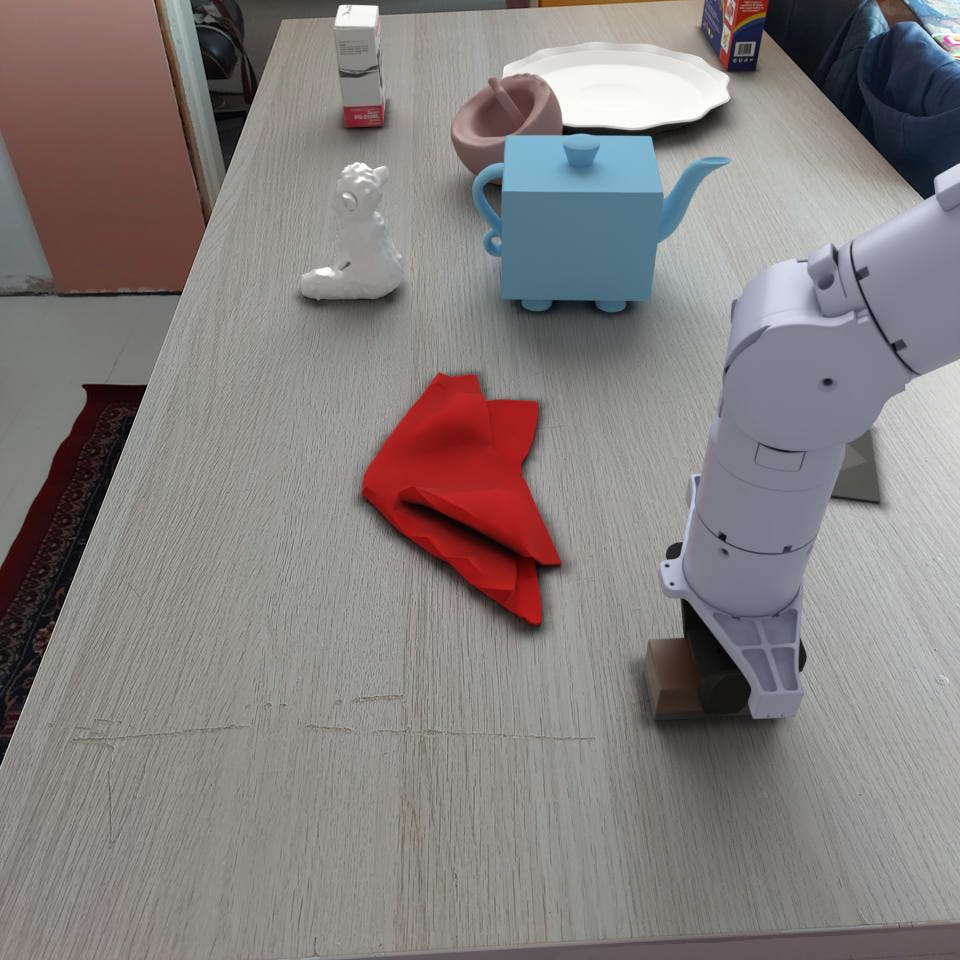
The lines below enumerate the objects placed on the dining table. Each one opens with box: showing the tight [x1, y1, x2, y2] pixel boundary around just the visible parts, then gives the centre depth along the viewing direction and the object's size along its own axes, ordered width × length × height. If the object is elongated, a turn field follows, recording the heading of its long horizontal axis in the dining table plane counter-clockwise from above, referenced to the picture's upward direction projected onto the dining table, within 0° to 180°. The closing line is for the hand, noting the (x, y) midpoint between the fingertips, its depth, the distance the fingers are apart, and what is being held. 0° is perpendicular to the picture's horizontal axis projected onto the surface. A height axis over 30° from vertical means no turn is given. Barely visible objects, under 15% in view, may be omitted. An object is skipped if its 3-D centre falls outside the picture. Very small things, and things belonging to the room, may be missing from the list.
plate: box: [500, 41, 731, 136], centre depth 117 cm, size 29×29×2 cm
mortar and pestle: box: [450, 73, 563, 186], centre depth 98 cm, size 12×12×12 cm
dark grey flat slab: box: [830, 428, 881, 504], centre depth 67 cm, size 5×8×1 cm, turn 168°
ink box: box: [333, 4, 387, 129], centre depth 112 cm, size 8×5×12 cm, turn 2°
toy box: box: [700, 0, 770, 72], centre depth 127 cm, size 18×4×12 cm, turn 1°
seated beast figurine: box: [299, 161, 405, 301], centre depth 82 cm, size 10×9×12 cm
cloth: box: [361, 371, 563, 627], centre depth 65 cm, size 26×14×2 cm, turn 1°
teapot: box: [471, 133, 733, 313], centre depth 81 cm, size 22×11×14 cm, turn 87°
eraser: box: [642, 637, 752, 721], centre depth 52 cm, size 7×4×3 cm, turn 93°
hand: (711, 676), depth 52 cm, fingers closed on eraser, 3 cm apart
